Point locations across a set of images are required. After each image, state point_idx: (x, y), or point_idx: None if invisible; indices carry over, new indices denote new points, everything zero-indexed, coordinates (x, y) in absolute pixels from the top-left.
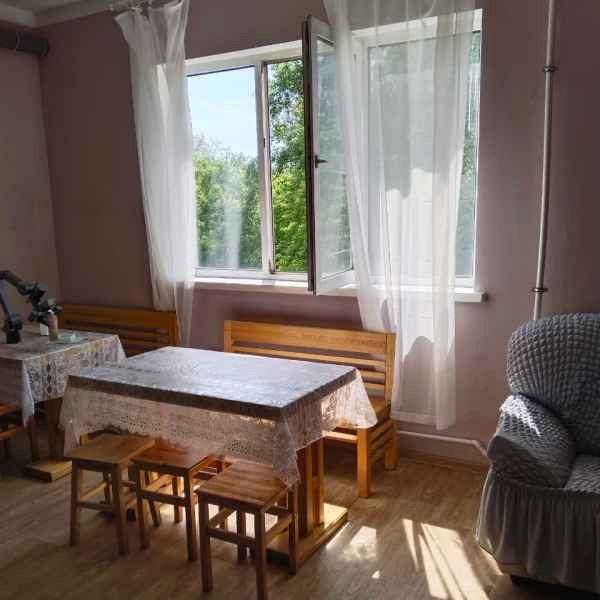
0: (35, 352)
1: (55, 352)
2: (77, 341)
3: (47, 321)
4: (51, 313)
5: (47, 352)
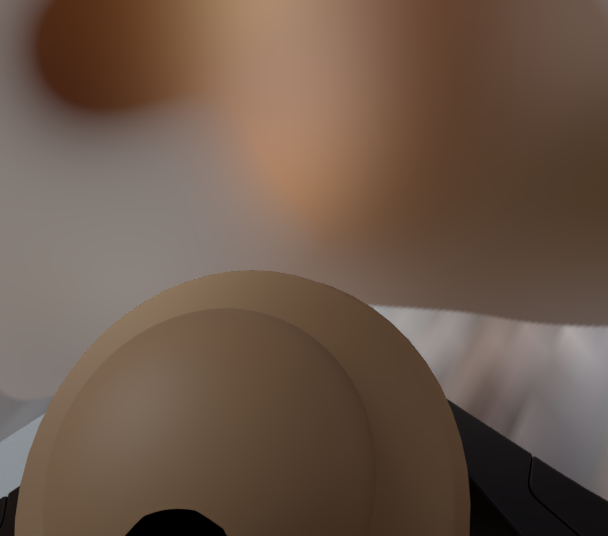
0: None
1: (405, 319)
2: (23, 455)
3: (477, 452)
4: (244, 368)
5: (451, 389)
